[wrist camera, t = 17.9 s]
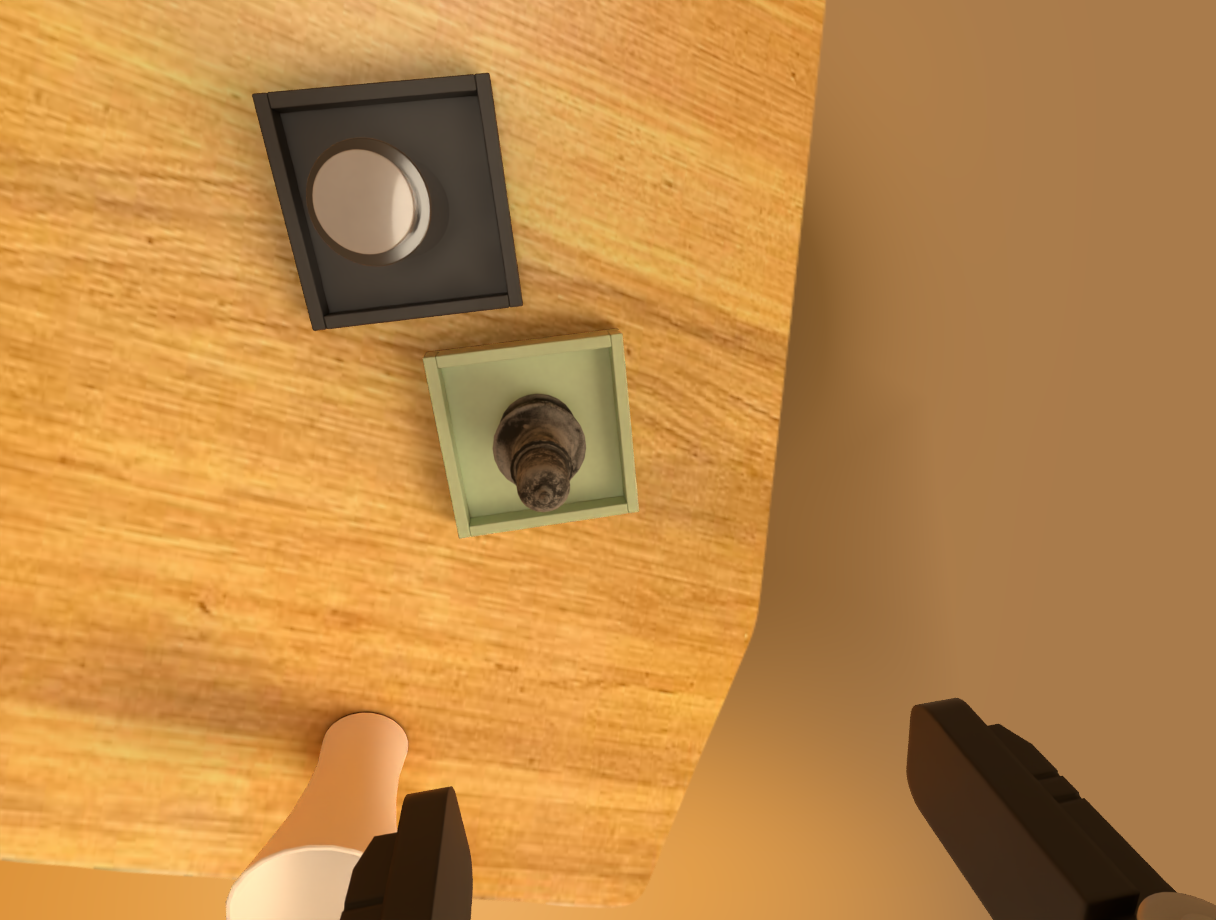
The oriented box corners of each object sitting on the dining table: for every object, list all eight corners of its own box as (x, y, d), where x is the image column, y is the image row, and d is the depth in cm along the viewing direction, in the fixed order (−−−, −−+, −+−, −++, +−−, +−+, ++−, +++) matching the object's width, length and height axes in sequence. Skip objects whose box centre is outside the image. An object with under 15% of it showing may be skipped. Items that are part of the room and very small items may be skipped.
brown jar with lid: (439, 151, 38) (414, 127, 29) (457, 252, 40) (438, 260, 30) (341, 161, 38) (282, 140, 28) (364, 262, 40) (315, 274, 30)
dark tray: (490, 80, 38) (489, 72, 36) (522, 302, 42) (522, 306, 40) (265, 100, 37) (250, 93, 35) (322, 326, 41) (312, 331, 39)
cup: (419, 802, 55) (390, 975, 42) (287, 787, 52) (215, 966, 40) (446, 701, 52) (423, 855, 39) (307, 680, 49) (235, 837, 37)
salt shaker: (580, 470, 46) (600, 550, 35) (495, 472, 45) (488, 554, 34) (581, 389, 44) (603, 445, 33) (493, 389, 43) (484, 447, 32)
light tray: (617, 328, 43) (622, 333, 42) (634, 500, 48) (639, 512, 46) (426, 351, 42) (422, 358, 40) (461, 525, 47) (458, 538, 45)
